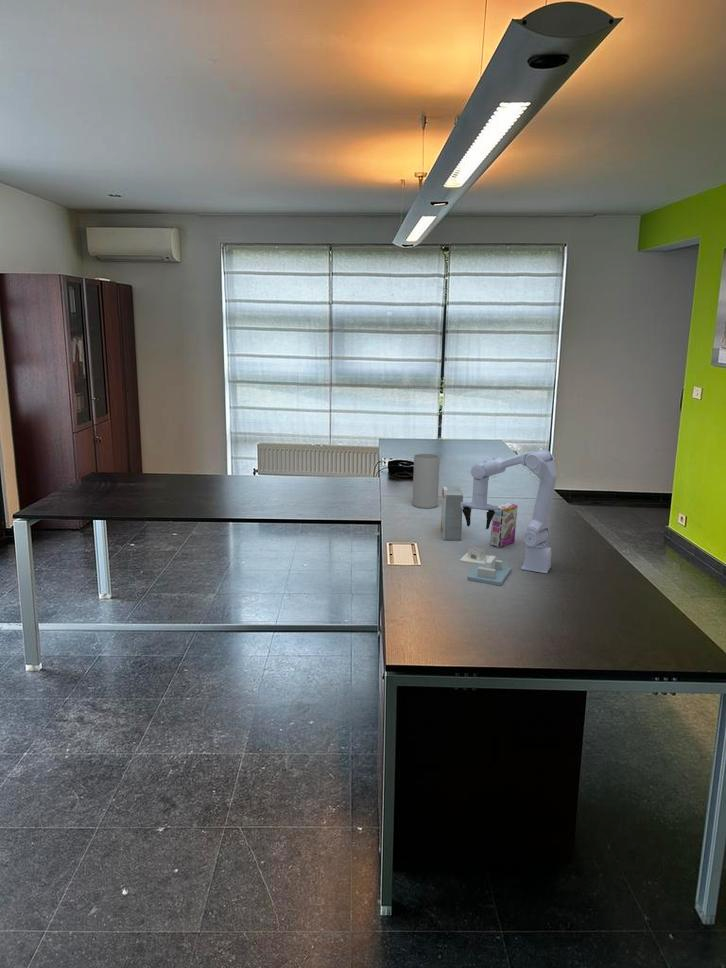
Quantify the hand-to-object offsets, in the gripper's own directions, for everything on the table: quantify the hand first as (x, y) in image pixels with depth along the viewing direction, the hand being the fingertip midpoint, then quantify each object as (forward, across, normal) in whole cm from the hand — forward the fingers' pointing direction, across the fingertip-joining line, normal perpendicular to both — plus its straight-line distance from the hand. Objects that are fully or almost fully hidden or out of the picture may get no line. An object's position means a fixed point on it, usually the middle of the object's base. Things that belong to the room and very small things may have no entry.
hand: (478, 527), depth 266 cm
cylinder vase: (+11, +42, -58) cm, 72 cm away
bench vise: (+10, -11, +23) cm, 28 cm away
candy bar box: (+11, -7, -15) cm, 20 cm away
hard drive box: (+11, +16, -17) cm, 26 cm away
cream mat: (+10, -2, +8) cm, 13 cm away
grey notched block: (+10, -2, +8) cm, 13 cm away
